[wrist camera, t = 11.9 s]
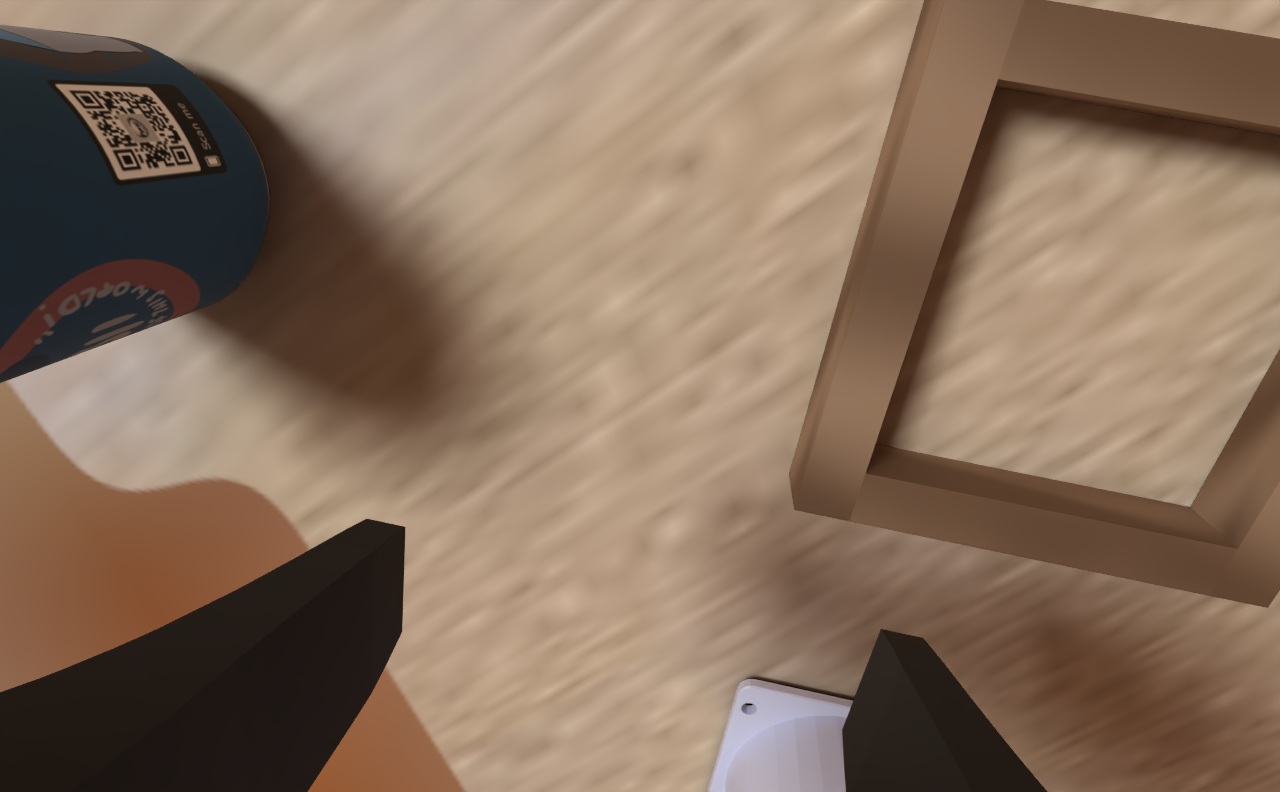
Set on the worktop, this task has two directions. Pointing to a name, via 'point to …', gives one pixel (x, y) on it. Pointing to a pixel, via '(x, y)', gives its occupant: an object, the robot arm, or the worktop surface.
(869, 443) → the frame
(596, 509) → the worktop surface
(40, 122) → the soda can
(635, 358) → the worktop surface
